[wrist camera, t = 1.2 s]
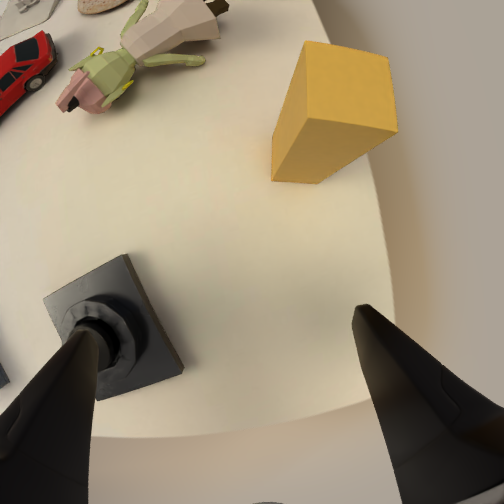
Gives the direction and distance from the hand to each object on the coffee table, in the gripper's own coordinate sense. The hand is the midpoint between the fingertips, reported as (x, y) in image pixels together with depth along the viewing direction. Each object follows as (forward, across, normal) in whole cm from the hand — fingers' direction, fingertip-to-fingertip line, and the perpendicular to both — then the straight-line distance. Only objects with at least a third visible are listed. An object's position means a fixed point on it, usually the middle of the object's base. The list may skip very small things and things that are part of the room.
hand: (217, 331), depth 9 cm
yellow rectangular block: (+15, -6, 0) cm, 16 cm away
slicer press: (+9, +10, +10) cm, 17 cm away
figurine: (+21, +6, -10) cm, 24 cm away
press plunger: (+7, +10, +9) cm, 15 cm away
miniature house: (+30, +23, -24) cm, 45 cm away
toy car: (+22, +22, -11) cm, 33 cm away
